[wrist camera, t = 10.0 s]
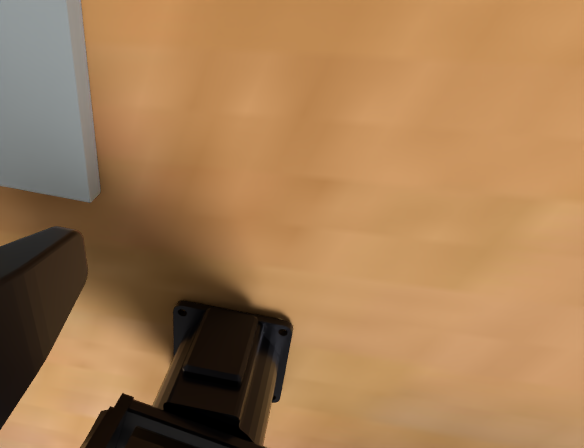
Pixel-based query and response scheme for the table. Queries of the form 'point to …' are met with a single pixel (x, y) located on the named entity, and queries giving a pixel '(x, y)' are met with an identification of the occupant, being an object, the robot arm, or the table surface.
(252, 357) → the robot arm
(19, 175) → the board
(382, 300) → the table surface
